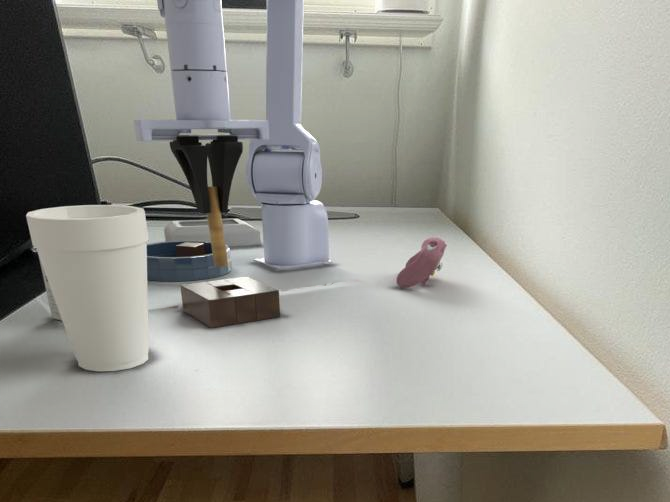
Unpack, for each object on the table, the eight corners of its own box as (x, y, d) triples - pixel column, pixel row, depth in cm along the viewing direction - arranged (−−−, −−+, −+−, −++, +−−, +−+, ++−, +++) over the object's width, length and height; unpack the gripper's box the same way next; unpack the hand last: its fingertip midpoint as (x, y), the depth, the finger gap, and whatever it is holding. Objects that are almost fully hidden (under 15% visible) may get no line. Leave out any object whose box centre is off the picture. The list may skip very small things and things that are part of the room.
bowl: (209, 261, 103) (206, 237, 101) (247, 277, 93) (245, 251, 91) (121, 271, 96) (117, 246, 94) (152, 289, 86) (148, 262, 84)
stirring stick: (228, 264, 78) (217, 186, 75) (227, 265, 77) (216, 186, 74) (214, 266, 78) (203, 187, 75) (213, 266, 77) (202, 187, 73)
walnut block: (187, 263, 99) (185, 242, 97) (206, 264, 98) (204, 243, 97) (178, 267, 96) (175, 245, 95) (196, 268, 96) (194, 246, 94)
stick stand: (248, 301, 81) (246, 276, 80) (280, 316, 75) (279, 290, 74) (183, 310, 77) (179, 284, 76) (211, 328, 71) (208, 300, 70)
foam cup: (105, 385, 56) (74, 223, 50) (38, 365, 61) (1, 213, 54) (186, 355, 63) (168, 209, 57) (120, 339, 68) (96, 202, 61)
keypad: (259, 224, 112) (168, 228, 107) (261, 247, 114) (171, 252, 109) (247, 216, 120) (162, 220, 115) (249, 238, 121) (165, 242, 117)
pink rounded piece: (422, 301, 88) (449, 254, 84) (392, 284, 87) (418, 235, 84) (430, 285, 96) (455, 241, 93) (403, 269, 96) (427, 224, 92)
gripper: (142, 67, 62) (162, 220, 69) (279, 73, 69) (285, 211, 76) (120, 70, 67) (140, 212, 74) (249, 75, 75) (257, 204, 81)
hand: (212, 211), depth 75 cm, fingers closed on stirring stick, 1 cm apart
